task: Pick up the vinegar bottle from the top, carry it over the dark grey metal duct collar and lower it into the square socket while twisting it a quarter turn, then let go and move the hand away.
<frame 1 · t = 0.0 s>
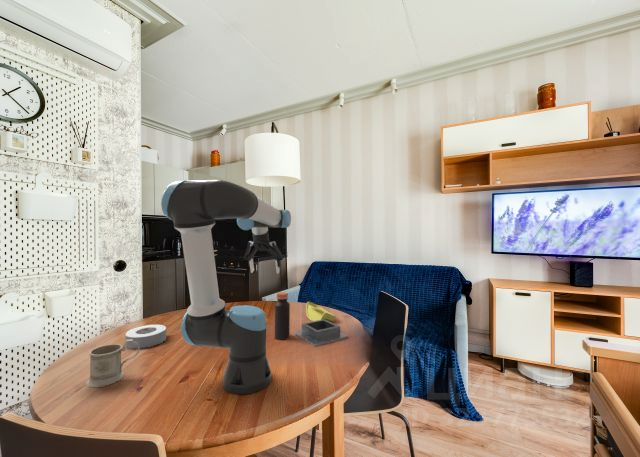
hand: (265, 272, 141), 28 cm above the table, tool tilted 20°, fingers open, 13 cm apart
duct collar: (320, 335, 130), on the table
plastic component: (319, 318, 157), on the table
mug: (114, 378, 92), on the table
vinegar: (282, 337, 128), on the table
tape roll: (146, 342, 123), on the table
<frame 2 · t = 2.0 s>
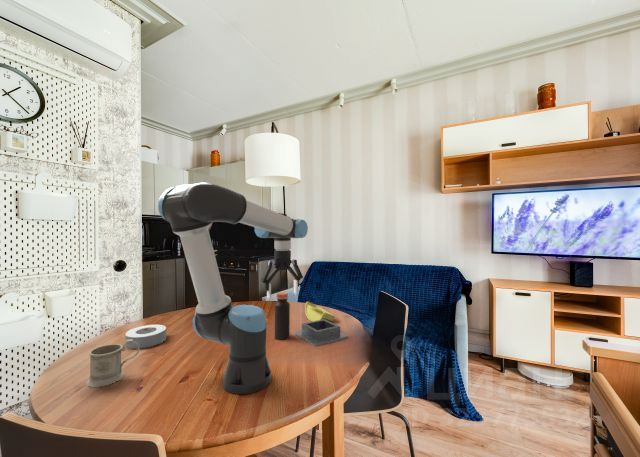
hand: (282, 296, 129), 19 cm above the table, tool pointing down, fingers open, 13 cm apart
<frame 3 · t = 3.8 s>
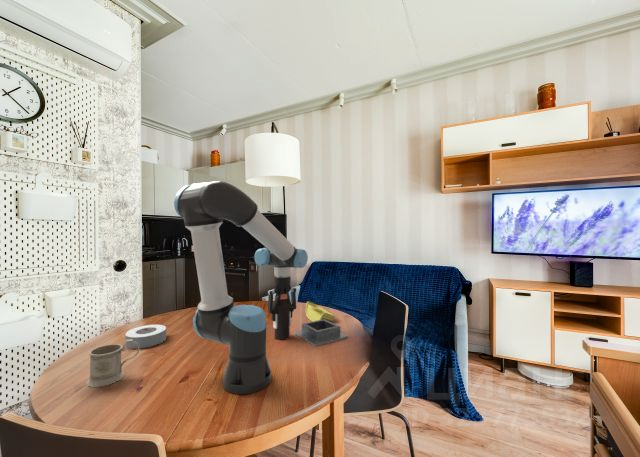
hand: (282, 326, 128), 5 cm above the table, tool pointing down, fingers closed on vinegar, 6 cm apart
vinegar: (282, 337, 128), on the table, touching gripper
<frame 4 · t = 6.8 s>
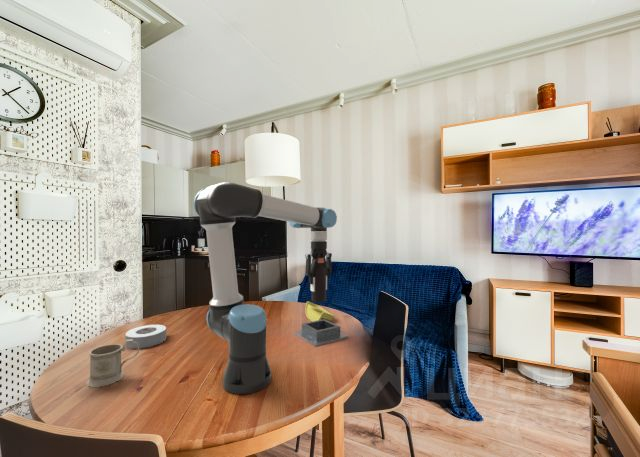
hand: (318, 290, 131), 21 cm above the table, tool pointing down, fingers closed on vinegar, 6 cm apart
vinegar: (318, 300, 131), point 16 cm above the table, touching gripper
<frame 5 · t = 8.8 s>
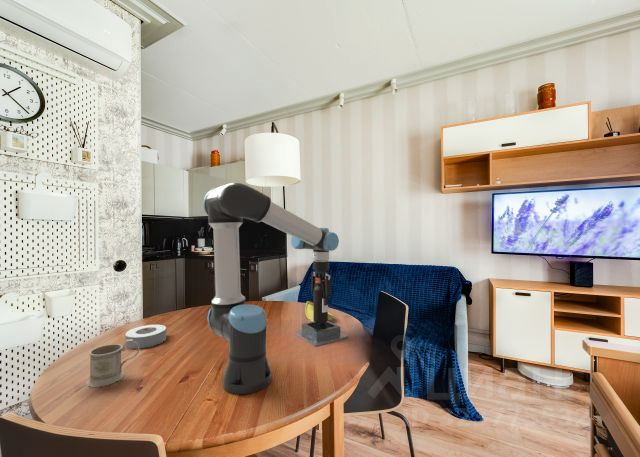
hand: (320, 310, 131), 12 cm above the table, tool pointing down, fingers closed on vinegar, 6 cm apart
vinegar: (320, 321, 130), point 7 cm above the table, touching gripper
when the fingers open (7 cm above the table, at t = 10.0 s): vinegar drops 2 cm, resting on duct collar.
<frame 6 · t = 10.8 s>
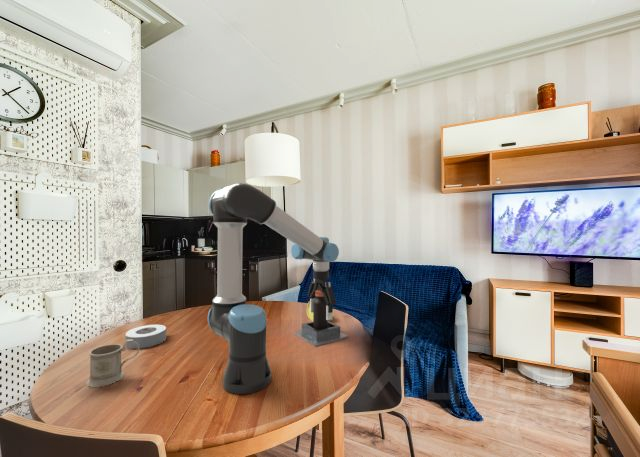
hand: (320, 315, 131), 9 cm above the table, tool pointing down, fingers open, 13 cm apart
vinegar: (320, 334, 130), point 1 cm above the table, touching duct collar
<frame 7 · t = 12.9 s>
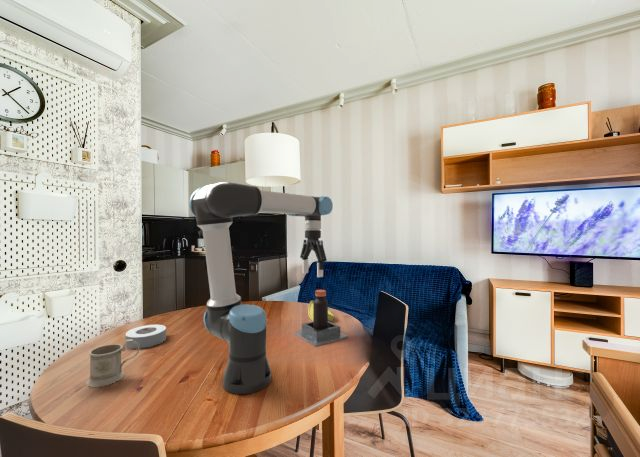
hand: (312, 275, 132), 28 cm above the table, tool pointing down, fingers open, 13 cm apart
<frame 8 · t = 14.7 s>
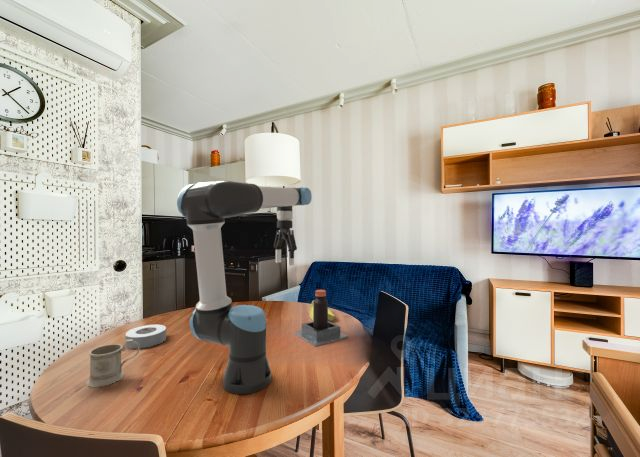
hand: (284, 263, 136), 33 cm above the table, tool pointing down, fingers open, 13 cm apart
at the end: vinegar 0.1 cm off-centre on the duct collar, point 0.6 cm above the duct collar's base; vinegar tilted 0°; the gripper is holding nothing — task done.
